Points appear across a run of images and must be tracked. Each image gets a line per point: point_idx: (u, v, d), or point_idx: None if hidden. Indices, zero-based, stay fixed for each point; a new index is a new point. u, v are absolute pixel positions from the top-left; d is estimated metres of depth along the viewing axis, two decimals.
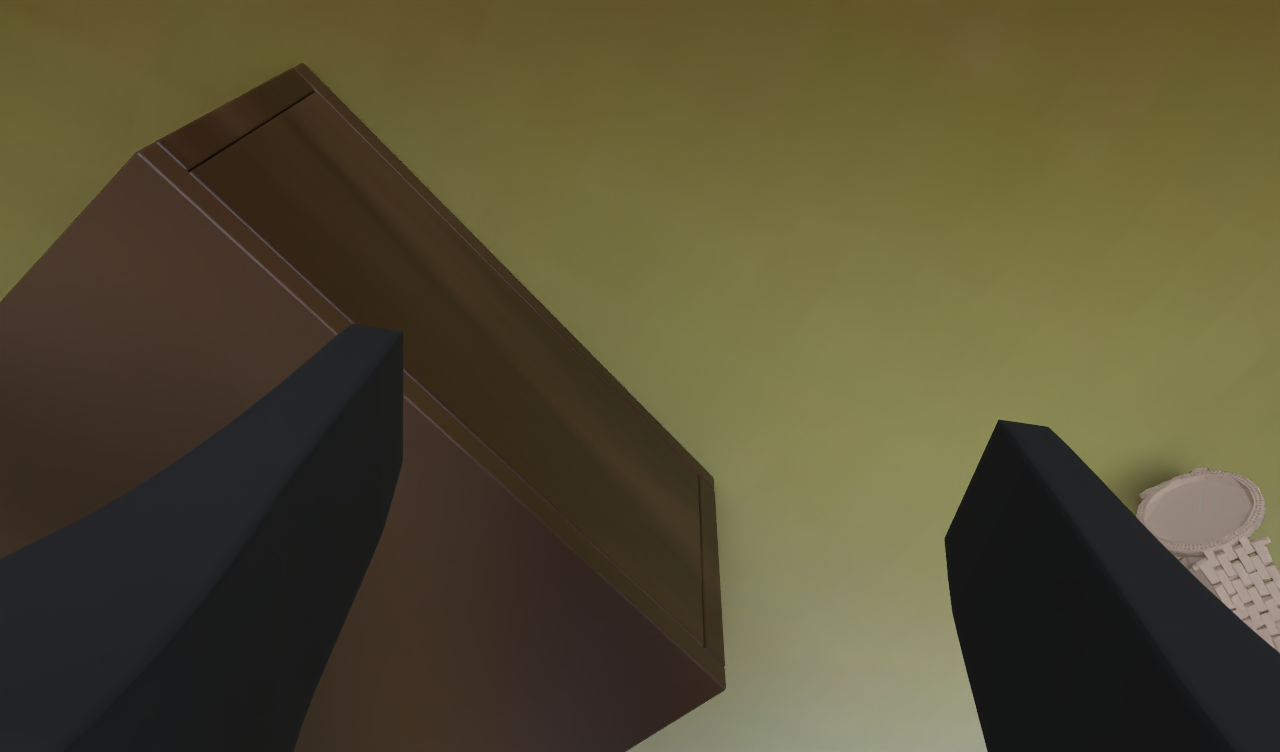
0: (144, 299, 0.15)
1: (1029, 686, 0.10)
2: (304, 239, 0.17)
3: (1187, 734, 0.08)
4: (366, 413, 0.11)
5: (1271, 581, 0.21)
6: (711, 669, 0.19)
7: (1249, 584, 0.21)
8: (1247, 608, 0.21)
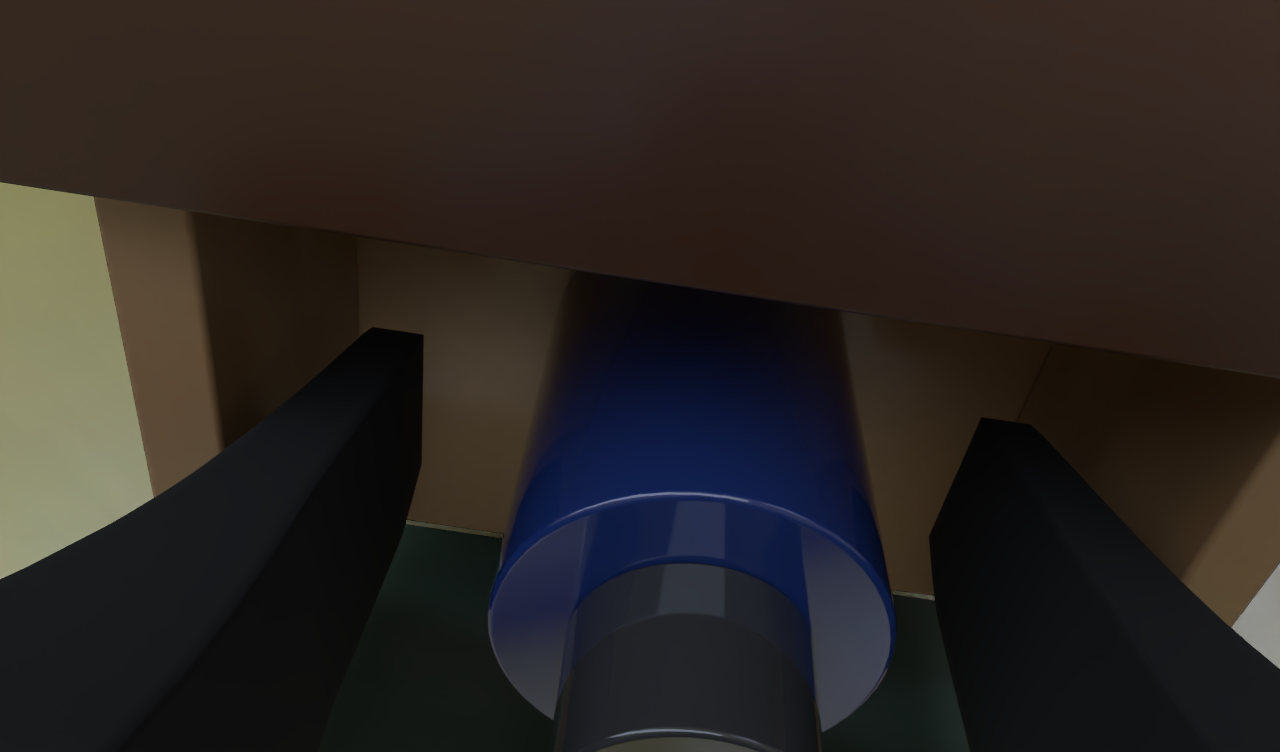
0: None
1: (1009, 683, 0.10)
2: None
3: (1161, 730, 0.08)
4: (389, 416, 0.11)
5: None
6: None
7: None
8: None
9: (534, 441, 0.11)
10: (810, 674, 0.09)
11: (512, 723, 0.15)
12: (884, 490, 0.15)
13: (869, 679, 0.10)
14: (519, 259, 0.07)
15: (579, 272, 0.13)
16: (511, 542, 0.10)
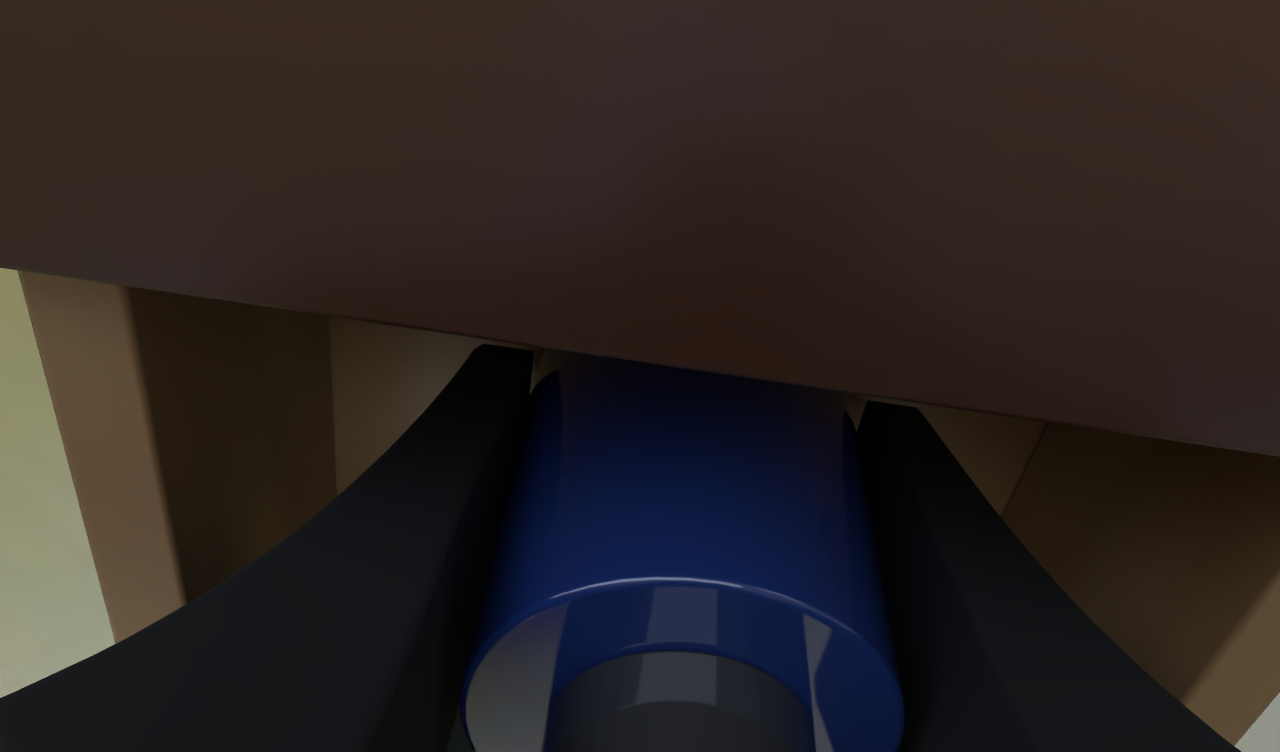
0: None
1: None
2: None
3: (989, 707, 0.08)
4: (510, 434, 0.11)
5: None
6: None
7: None
8: None
9: (512, 505, 0.10)
10: None
11: None
12: None
13: None
14: (484, 337, 0.06)
15: None
16: (484, 624, 0.09)
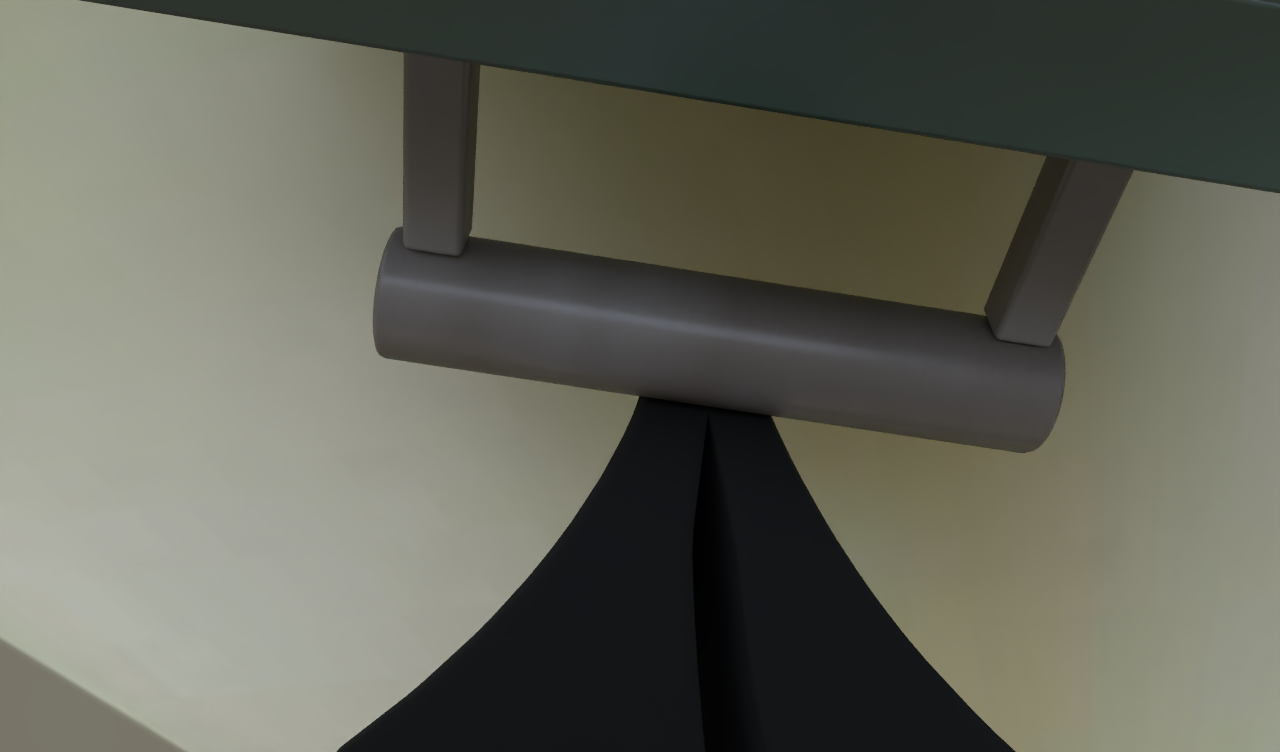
0: None
1: None
2: None
3: (741, 673, 0.08)
4: None
5: None
6: None
7: None
8: None
9: None
10: None
11: None
12: None
13: None
14: None
15: None
16: None
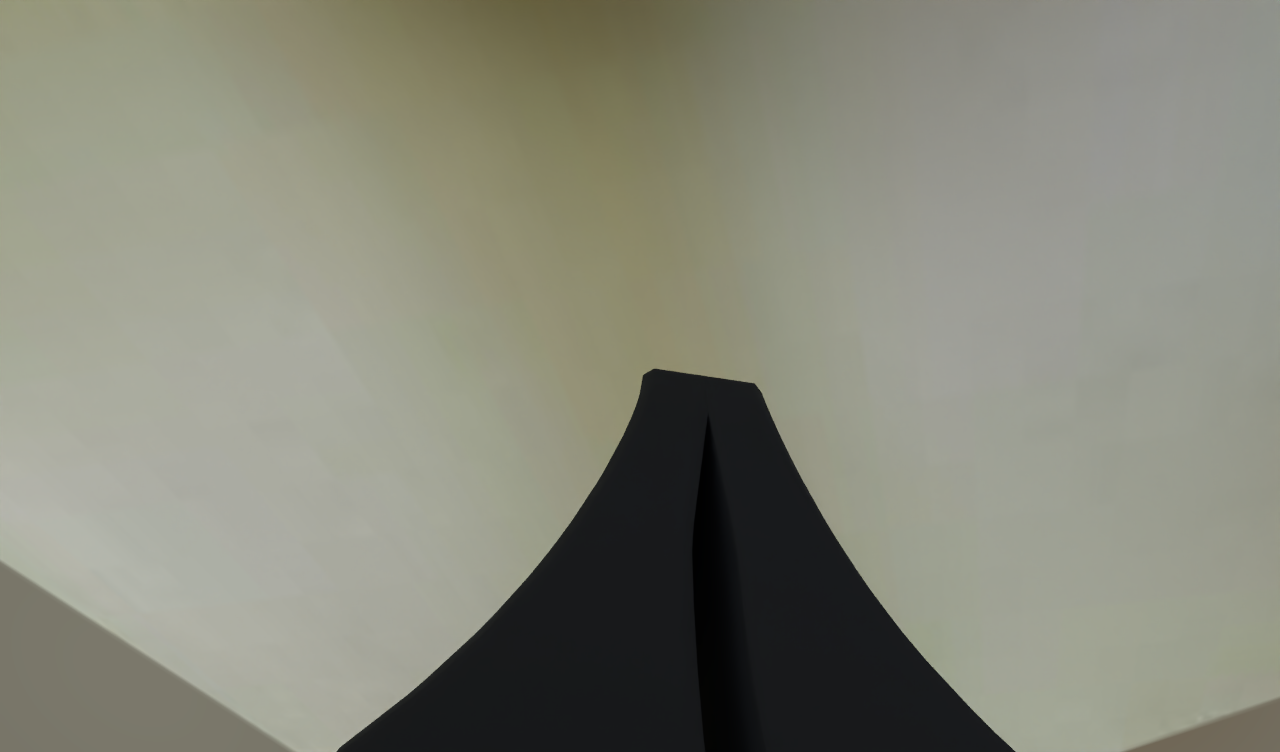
0: None
1: None
2: None
3: (741, 673, 0.08)
4: None
5: None
6: None
7: None
8: None
9: None
10: None
11: None
12: None
13: None
14: None
15: None
16: None
